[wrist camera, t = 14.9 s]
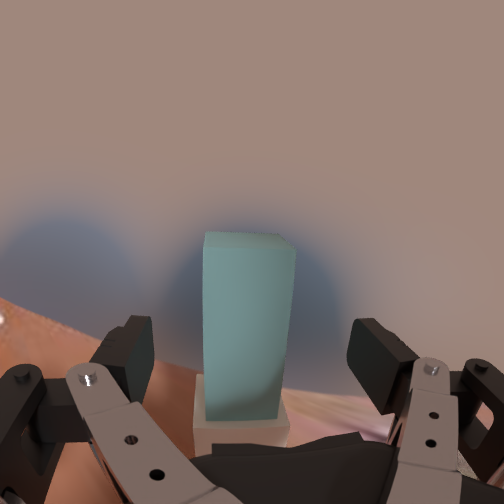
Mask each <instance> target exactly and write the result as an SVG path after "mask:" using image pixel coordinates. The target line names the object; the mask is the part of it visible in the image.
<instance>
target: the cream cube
mask: <svg viewBox="0 0 504 504" xmlns="http://www.w3.org/2000/svg"><path fill="white" fill-rule="evenodd" d="M289 430H290V423H289V420H288V417H287V414H286V410H285V407H284V404H283V400H282V397H281V396H280V403H279V410H278V417H277V419H269V420H249V421H206V414H205V390H204V374H197V375H196V387H195V400H194V415H193V437H194V447H195V456H196V457H198V456H202V455H207V454H212V443H253V444H260V445H268V446H276V447H286V445H287V440H288V435H289Z"/></svg>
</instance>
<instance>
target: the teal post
mask: <svg viewBox="0 0 504 504" xmlns="http://www.w3.org/2000/svg"><path fill="white" fill-rule="evenodd" d="M296 251H297V250H296V249H295V248H294V247H293V246H292V245H290V244H289V243H288V242H287V241H286V240H285V239H283V238H282V237H281V236H280V235H279V234H265V233H234V232H233V233H232V232H206V234H205V240H204V246H203V355H204V356H203V357H204V390H205V414H206V421H249V420H269V419H277V417H278V410H279V403H280V396H281V388H282V381H283V373H284V365H285V357H286V349H287V340H288V331H289V322H290V314H291V304H292V295H293V284H294V273H295V263H296Z"/></svg>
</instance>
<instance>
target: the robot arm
mask: <svg viewBox="0 0 504 504" xmlns="http://www.w3.org/2000/svg"><path fill="white" fill-rule="evenodd" d="M347 363H348V366H349V368H350V369H351V371H352V372H353V374H354V375H355V377H356V378H357V380H358V381H359V383H360V384H361V386H362V387H363V389H364V390H365V392H366V393H367V395H368V396H369V398H370V399H371V401H372V402H373V404H374V405H375V407H376V408H377V410H378V411H379V413H380V414H381V415H386V414H390V413H395V416H394V418H393V421H392V424H391V427H390V430H389V434H388V437H387V440H386V443H381V442H375V441H364V440H363V439H362V437H361V435H360V433H359V432H353V433H347V434H341V435H335V436H328V437H324V438H321V439H318V440H315V441H312V442H309V443H306V444H303V445H300V446H296V447H292V448H286V447H276V446H268V445H260V444H253V443H212V454H207V455H202V456H198V457H195V458H192V459H189V460H188V459H187V458H186V457H185V456H184V455H183V454H182V453H181V451H180V450H179V449H178V448H177V447H176V446H175V445H174V444H173V443H172V441H171V440H170V439H169V438H168V437H167V436H166V435H165V433H164V432H163V431H162V430H161V429H160V428H159V426H158V425H157V424H156V423H155V421H154V420H153V419H152V418H151V417H150V415H149V414H148V413H147V412H146V410H145V409H144V408H143V406H142V402H143V399H144V396H145V392H146V389H147V386H148V383H149V380H150V376H151V373H152V370H153V366H154V345H153V333H152V321H151V318H150V317H149V316H135V315H131V316H130V318H129V319H128V321H127V323H126V324H125V326H124V327H116V328H114V329H113V330H111V331H110V332H109V333H108V334H107V336H106V337H105V338H104V340H103V341H102V343H101V344H100V346H99V347H98V349H97V350H96V352H95V353H94V355H93V357H92V358H91V360H90V361H89V363H82V364H78V365H76V366H74V367H72V368H70V369H69V370H68V372H67V373H66V378H60V379H44V378H43V375H42V372H41V370H40V368H38V367H37V366H35V365H32V364H20V365H16V366H14V367H12V368H10V369H9V370H7V371H6V372H5V374H4V375H3V376H2V377H1V379H0V504H44V502H45V498H46V495H47V492H48V489H49V486H50V483H51V480H52V477H53V475H54V472H55V469H56V466H57V463H58V461H59V458H60V455H61V453H62V450H63V448H64V445H65V443H69V442H88V444H89V446H90V448H91V450H92V452H93V454H94V456H95V458H96V459H97V461H98V463H99V465H100V467H101V469H102V470H103V472H104V474H105V476H106V477H107V479H108V481H109V483H110V484H111V486H112V488H113V490H114V491H115V493H116V495H117V497H118V498H119V500H120V502H121V503H122V504H504V374H503V373H501V372H500V371H499V370H498V369H497V368H496V367H494V366H493V365H492V364H491V363H489V362H487V361H485V360H482V359H469V360H467V361H466V363H465V366H464V369H463V371H449V368H448V366H447V365H446V364H445V363H443V362H442V361H440V360H437V359H434V358H427V357H425V358H420V357H418V355H416V354H415V353H414V352H413V351H412V350H411V349H410V348H409V347H408V346H406V345H405V343H404V342H403V341H400V339H399V338H398V337H397V336H396V335H395V334H394V333H392V332H390V331H388V330H386V329H385V328H384V327H382V326H381V325H380V324H379V323H378V322H377V321H376V320H375V319H374V318H363V319H356V320H355V321H354V323H353V326H352V331H351V336H350V341H349V345H348V350H347ZM482 402H484V403H485V405H486V406H487V407H488V408H489V409H490V410H491V411H492V412H493V415H494V421H493V424H492V426H491V428H490V429H489V431H488V430H487V429H486V427H485V426H484V425H483V424H482V423H481V422H480V420H479V419H478V418H477V417H476V414H477V412H478V410H479V408H480V406H481V404H482ZM24 429H25V431H24ZM23 431H24V433H23ZM22 433H23V434H22ZM21 435H22V436H21ZM458 450H459V451H460V453H461V454H462V455H463V457H464V458H465V460H466V461H467V463H468V464H469V465H470V467H471V468H472V470H473V471H474V473H475V474H476V475H477V477H478V478H479V480H480V481H478V480H475V479H473V478H470V477H467V476H464V475H462V474H461V473H460V472H459V471H458V470H457V455H458Z"/></svg>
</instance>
